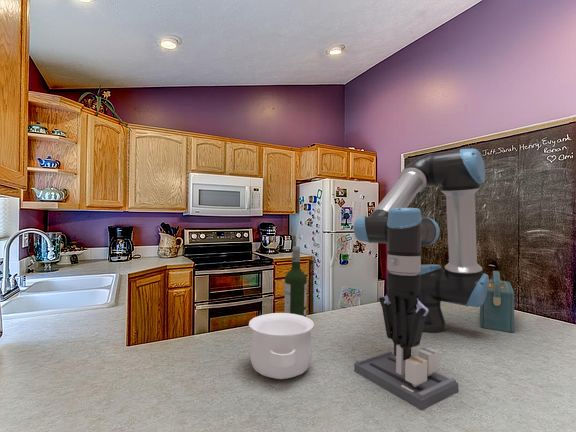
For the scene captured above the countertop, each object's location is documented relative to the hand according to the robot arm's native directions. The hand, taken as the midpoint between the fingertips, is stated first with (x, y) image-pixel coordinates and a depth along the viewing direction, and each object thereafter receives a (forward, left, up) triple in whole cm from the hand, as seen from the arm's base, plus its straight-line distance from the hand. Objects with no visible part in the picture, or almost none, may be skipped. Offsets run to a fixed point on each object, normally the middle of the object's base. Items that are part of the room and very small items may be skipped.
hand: (402, 372), depth 75 cm
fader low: (+4, 0, -2) cm, 4 cm away
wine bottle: (-46, +1, -4) cm, 47 cm away
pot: (-23, -19, -4) cm, 31 cm away
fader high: (+2, +7, -2) cm, 8 cm away
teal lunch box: (-13, +76, -4) cm, 77 cm away
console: (-2, +4, -4) cm, 6 cm away
